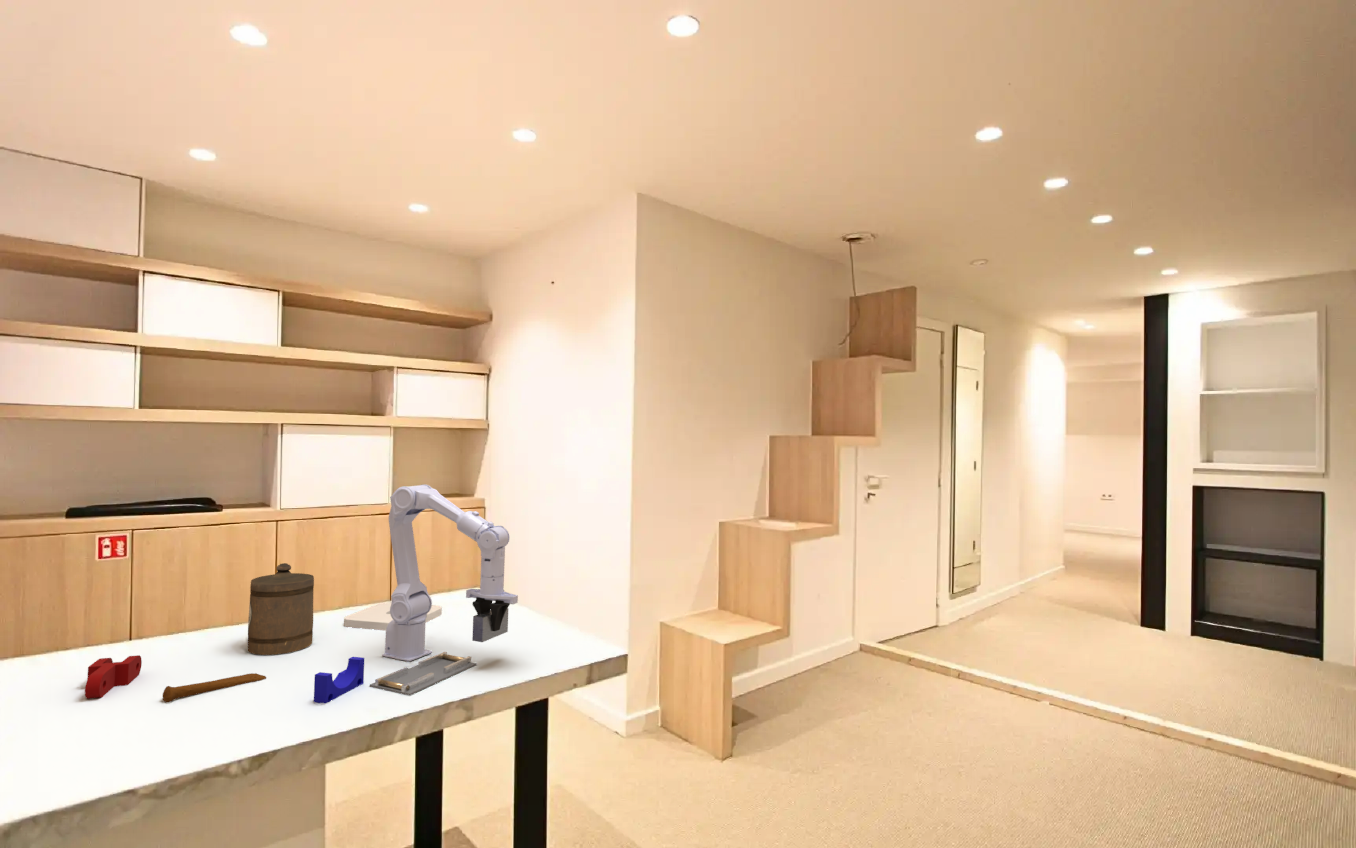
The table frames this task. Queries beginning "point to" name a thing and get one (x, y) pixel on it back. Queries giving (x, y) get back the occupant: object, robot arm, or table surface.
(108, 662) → the mechanical linkage
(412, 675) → the grey slide base plate
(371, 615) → the tapered beige board
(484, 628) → the dark gray rectangular chunk
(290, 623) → the wooden container
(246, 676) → the primitive tool
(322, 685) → the blue cradle bracket
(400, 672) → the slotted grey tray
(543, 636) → the table surface
